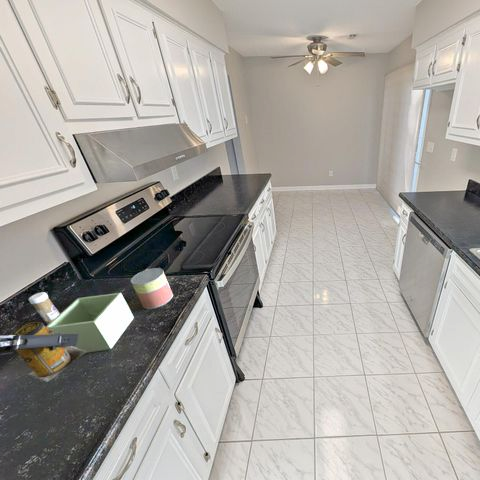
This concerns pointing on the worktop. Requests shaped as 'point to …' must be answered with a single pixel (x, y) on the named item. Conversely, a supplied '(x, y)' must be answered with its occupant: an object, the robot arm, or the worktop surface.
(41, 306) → the sprinkles bottle
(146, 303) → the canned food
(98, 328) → the trash bin
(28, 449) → the worktop surface
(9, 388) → the worktop surface
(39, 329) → the condiment
